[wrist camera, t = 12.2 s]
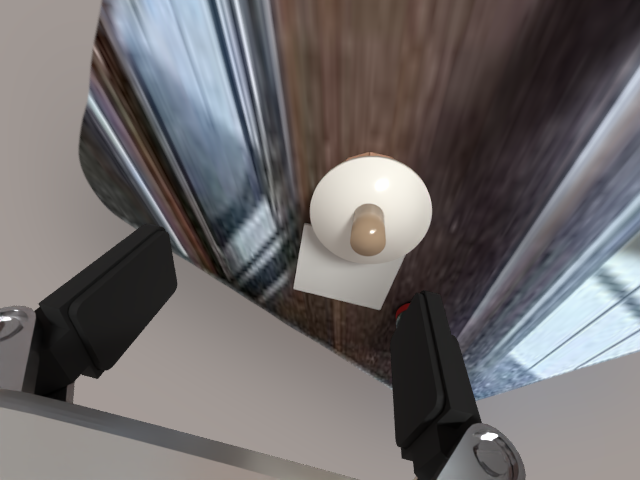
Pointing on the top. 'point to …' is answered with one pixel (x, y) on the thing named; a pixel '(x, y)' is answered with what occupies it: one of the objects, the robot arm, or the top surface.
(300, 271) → the mat
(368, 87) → the top surface
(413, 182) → the lid
